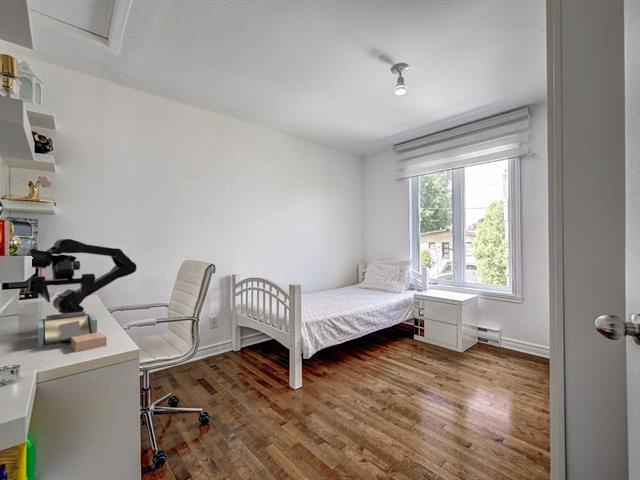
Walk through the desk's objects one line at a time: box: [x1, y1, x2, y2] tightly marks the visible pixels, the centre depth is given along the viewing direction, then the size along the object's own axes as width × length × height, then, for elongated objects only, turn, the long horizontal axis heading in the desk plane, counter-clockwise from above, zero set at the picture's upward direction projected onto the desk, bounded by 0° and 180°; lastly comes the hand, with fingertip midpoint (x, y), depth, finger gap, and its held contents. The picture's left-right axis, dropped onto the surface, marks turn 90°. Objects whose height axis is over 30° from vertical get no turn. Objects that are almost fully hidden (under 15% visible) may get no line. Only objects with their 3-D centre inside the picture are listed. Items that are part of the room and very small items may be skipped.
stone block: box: [70, 331, 107, 353], centre depth 99 cm, size 8×8×3 cm
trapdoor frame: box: [37, 312, 98, 349], centre depth 107 cm, size 15×15×6 cm
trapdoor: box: [44, 310, 90, 345], centre depth 108 cm, size 12×12×2 cm
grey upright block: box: [58, 321, 81, 343], centre depth 102 cm, size 5×5×8 cm
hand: (66, 299), depth 109 cm, fingers open, 9 cm apart
